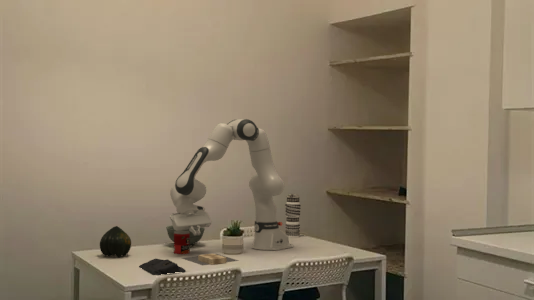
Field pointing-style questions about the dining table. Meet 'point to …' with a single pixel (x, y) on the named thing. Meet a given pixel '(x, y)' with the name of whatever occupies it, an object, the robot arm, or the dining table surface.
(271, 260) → the dining table surface
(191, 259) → the rubber mat
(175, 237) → the canned food
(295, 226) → the decorative candle
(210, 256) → the beech tile
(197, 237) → the bowl
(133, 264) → the dining table surface
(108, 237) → the squash
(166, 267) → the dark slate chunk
